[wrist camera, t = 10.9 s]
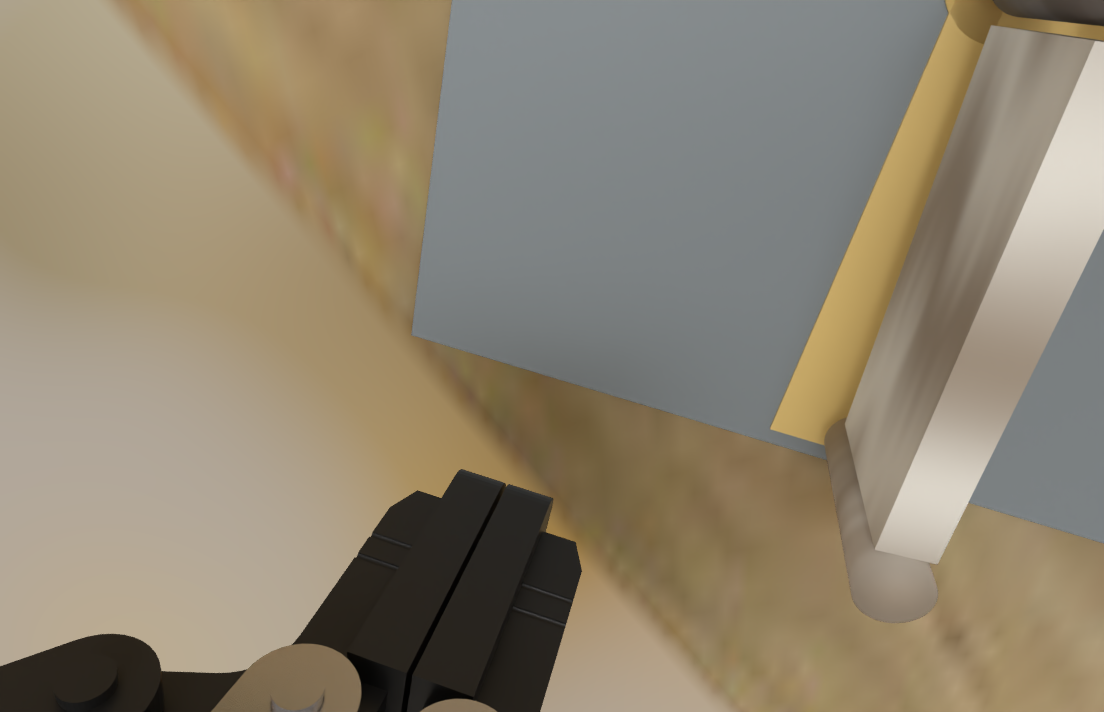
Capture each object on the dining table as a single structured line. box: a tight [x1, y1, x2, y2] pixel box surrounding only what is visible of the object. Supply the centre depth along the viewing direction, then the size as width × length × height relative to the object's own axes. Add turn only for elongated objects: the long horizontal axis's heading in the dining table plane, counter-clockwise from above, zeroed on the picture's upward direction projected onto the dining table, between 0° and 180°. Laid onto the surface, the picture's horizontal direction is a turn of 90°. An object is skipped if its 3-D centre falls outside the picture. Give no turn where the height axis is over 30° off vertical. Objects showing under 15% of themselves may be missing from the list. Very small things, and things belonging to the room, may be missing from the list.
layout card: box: [411, 0, 1104, 543], centre depth 17 cm, size 25×18×1 cm
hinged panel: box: [824, 0, 1104, 623], centre depth 14 cm, size 13×2×6 cm, turn 173°
